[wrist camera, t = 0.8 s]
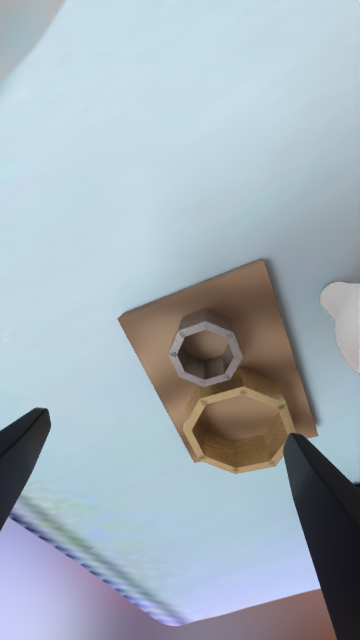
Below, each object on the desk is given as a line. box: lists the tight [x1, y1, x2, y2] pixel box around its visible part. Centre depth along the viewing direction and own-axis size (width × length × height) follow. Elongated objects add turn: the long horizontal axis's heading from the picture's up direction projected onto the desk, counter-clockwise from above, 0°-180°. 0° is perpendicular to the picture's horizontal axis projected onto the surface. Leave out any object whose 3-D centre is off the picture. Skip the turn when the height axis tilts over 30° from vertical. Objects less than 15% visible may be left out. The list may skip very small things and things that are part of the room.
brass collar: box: [183, 366, 296, 474], centre depth 22 cm, size 9×9×3 cm
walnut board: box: [118, 259, 318, 463], centre depth 23 cm, size 18×13×2 cm
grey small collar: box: [168, 308, 243, 387], centre depth 20 cm, size 5×5×3 cm
